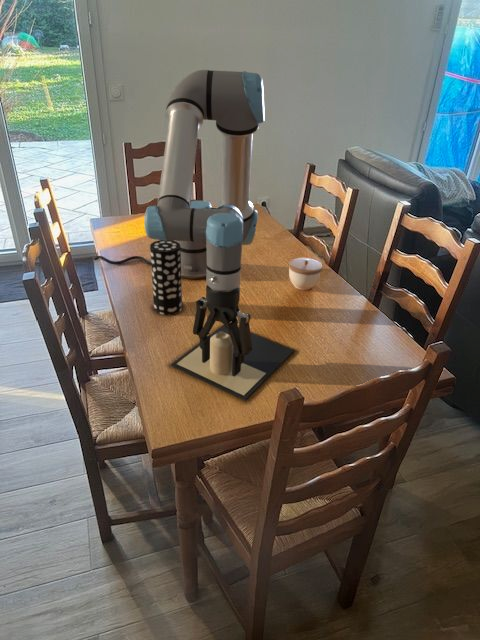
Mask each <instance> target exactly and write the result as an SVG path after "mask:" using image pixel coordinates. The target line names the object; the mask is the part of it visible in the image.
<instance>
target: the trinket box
mask: <svg viewBox="0 0 480 640" xmlns="http://www.w3.org/2000/svg"><path fill="white" fill-rule="evenodd" d="M322 270H323V265H322V263H321V262H320V261H318V260H316V259H313V258H309V257H297V258H293V259H291V260H290V261H289V263H288V277H289V281H290V282H291V284H292V285H293V286H294V288H296V289H297V290H301V291H308V290H311V289H312V288H313V287H314V286H316V285H317V284H318V282H319V281H320V278H321V275H322Z"/></svg>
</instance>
